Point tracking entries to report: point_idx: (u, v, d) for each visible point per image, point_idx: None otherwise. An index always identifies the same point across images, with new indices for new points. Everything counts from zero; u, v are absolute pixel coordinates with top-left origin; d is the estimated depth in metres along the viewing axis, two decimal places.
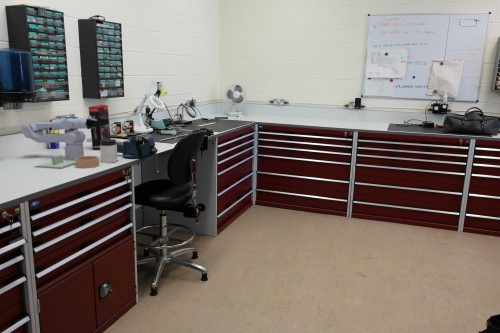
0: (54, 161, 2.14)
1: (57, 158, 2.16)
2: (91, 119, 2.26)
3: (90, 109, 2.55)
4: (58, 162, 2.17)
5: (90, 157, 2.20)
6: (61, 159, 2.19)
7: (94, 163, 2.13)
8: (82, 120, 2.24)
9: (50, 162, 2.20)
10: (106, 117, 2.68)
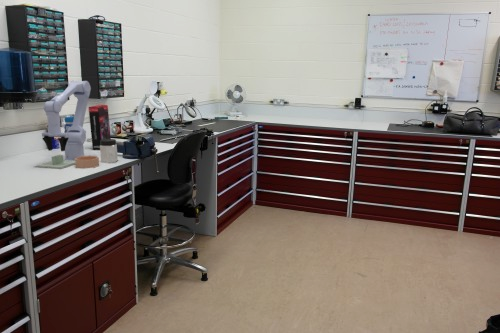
0: (54, 161, 2.14)
1: (57, 158, 2.16)
2: None
3: (90, 109, 2.55)
4: (58, 162, 2.17)
5: (90, 157, 2.20)
6: (61, 159, 2.19)
7: (94, 163, 2.13)
8: (48, 127, 2.12)
9: (50, 162, 2.20)
10: (106, 117, 2.68)
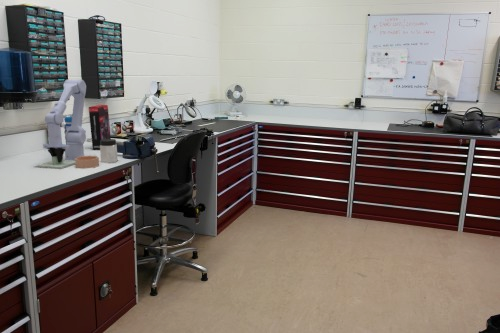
0: (54, 161, 2.14)
1: None
2: (55, 146, 2.14)
3: (90, 109, 2.55)
4: (58, 162, 2.17)
5: (90, 157, 2.20)
6: None
7: (94, 163, 2.13)
8: None
9: (50, 162, 2.20)
10: (106, 117, 2.68)
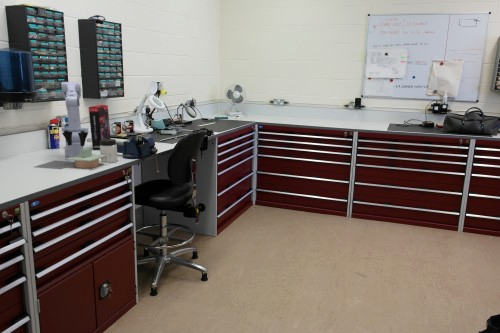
0: (83, 154, 2.12)
1: (86, 151, 2.13)
2: (73, 129, 2.13)
3: (90, 109, 2.55)
4: (87, 155, 2.14)
5: None
6: (90, 152, 2.16)
7: (94, 163, 2.13)
8: (68, 122, 2.13)
9: (78, 155, 2.17)
10: (106, 117, 2.68)
